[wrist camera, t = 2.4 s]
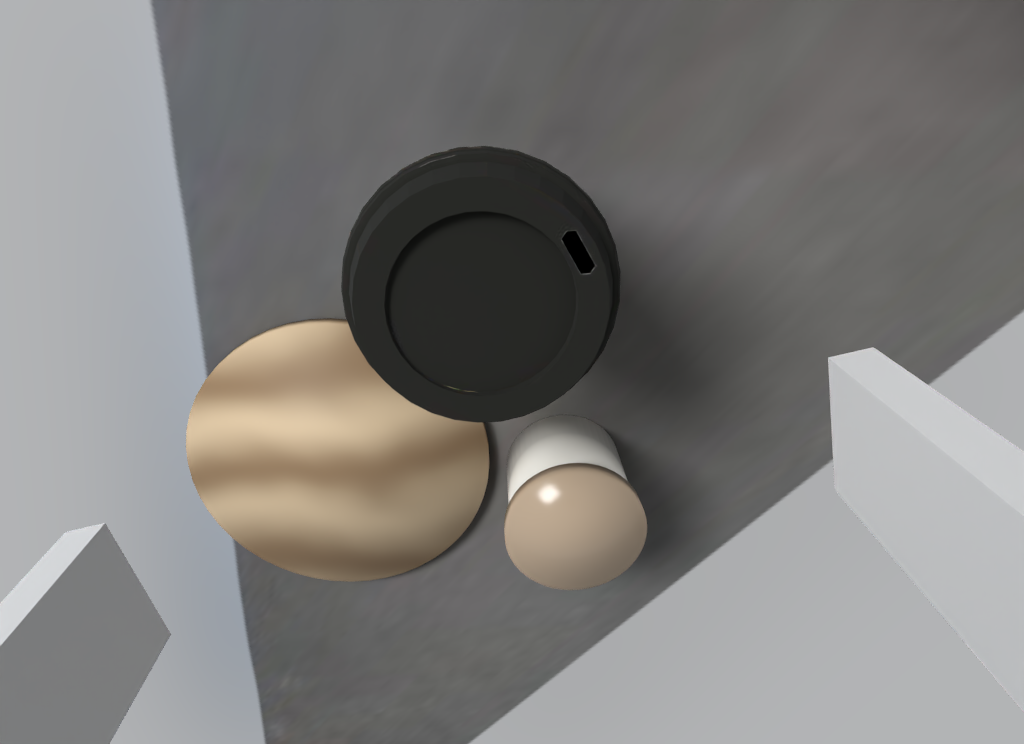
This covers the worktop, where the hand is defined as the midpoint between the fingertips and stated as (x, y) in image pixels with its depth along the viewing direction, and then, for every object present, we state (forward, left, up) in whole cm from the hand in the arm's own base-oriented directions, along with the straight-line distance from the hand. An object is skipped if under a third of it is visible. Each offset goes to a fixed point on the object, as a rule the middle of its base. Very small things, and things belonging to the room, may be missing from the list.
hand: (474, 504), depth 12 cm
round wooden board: (+12, -12, -26) cm, 31 cm away
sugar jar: (+16, +1, -26) cm, 30 cm away
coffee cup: (0, 0, -26) cm, 26 cm away
